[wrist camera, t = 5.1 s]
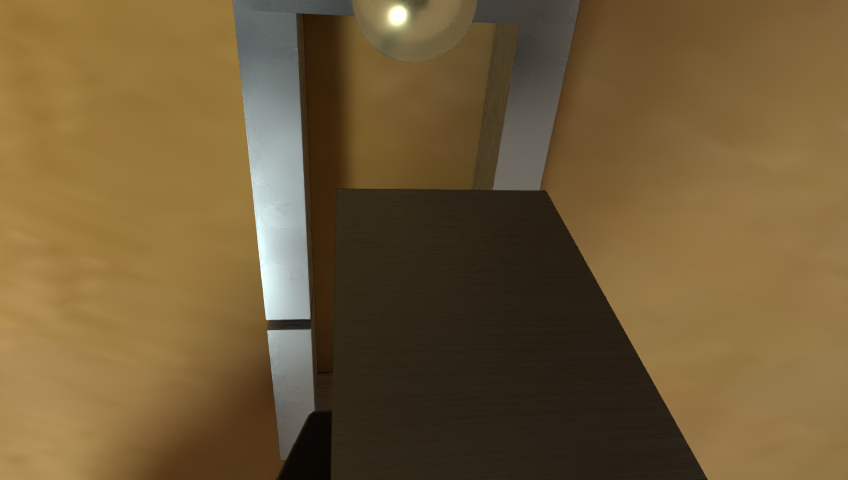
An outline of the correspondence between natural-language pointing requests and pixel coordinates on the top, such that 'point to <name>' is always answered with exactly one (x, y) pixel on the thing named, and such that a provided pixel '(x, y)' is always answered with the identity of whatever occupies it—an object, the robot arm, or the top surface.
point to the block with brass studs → (483, 348)
